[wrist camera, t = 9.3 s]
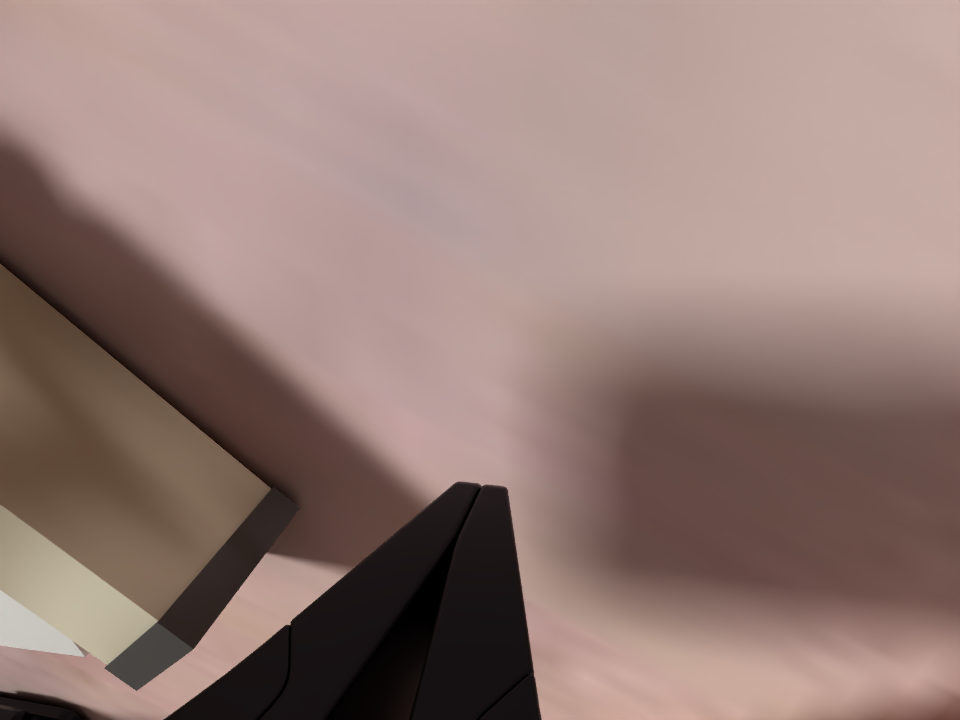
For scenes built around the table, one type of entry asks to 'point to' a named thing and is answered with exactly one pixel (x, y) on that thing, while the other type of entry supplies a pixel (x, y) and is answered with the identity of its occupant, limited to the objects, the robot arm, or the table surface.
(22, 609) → the board
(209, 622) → the leg
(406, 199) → the table surface
